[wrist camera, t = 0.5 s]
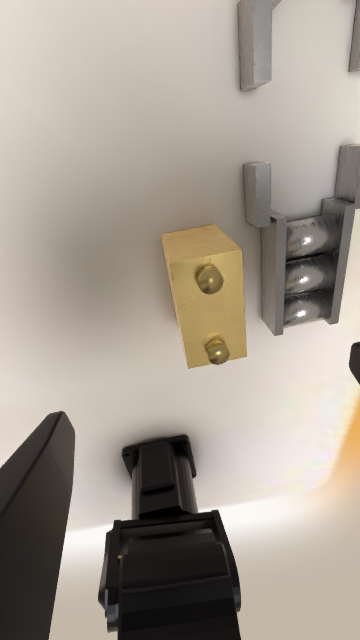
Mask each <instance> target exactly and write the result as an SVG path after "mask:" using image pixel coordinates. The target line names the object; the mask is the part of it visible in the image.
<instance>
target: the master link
mask: <svg viewBox="0 0 360 640" xmlns="http://www.w3.org/2000/svg"><path fill="white" fill-rule="evenodd" d="M161 238H162V244H163V249H164V254H165V260H166V265H167V270H168V276H169V281H170V286H171V291H172V297H173V302H174V307H175V313H176V318H177V323H178V327H179V331H180V336H181V340H182V344H183V348H184V353H185V357H186V361H187V365H188V369H189V368H194V367H199V366H204V365H209V364H216V365H219V364H223V363H224V362H226V361H228V360H233V359H238V358H242V357H247V352H246V330H245V307H244V285H243V263H242V249H241V248H240V247H239V246H238V245H237V244H236V243H235V242H234V241H232V240H231V239H230V238H229V237H228V236H227V235H226V234H225V233H224V232H223V231H222V230H221V229H220V228H219V227H218V226H217V225H216V224H212V225H207V226H202V227H197V228H191V229H186V230H181V231H176V232H171V233H165V234H161Z"/></svg>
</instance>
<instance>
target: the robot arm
mask: <svg viewBox="0 0 360 640" xmlns="http://www.w3.org/2000/svg"><path fill="white" fill-rule="evenodd" d="M349 367H350V370H351V372H352V374H353V375H354V377H355V378H356V380H357V381H358V383H359V384H360V342H356V343H354V344H353V345H352V346H351V353H350V360H349ZM74 450H75V431H74V428H73V426H72V424H71V422H70V421H69V419H68V417H67V415H66V413H65V412H63V411H59V412H54V413H51V414H49V415H48V416H47V417H46V418H45V419H44V420H43V421H42V422H41V423H40V424H39V426H38V427H37V428H36V429H35V430H34V431H33V432H32V433H31V435H30V436H29V437H28V438H27V439H26V440H25V441H24V442H23V443H22V445H21V446H20V447H19V448H18V449H17V450H16V451H15V452H14V453H13V455H12V456H11V457H10V458H9V459H8V460H7V461H6V462H5V464H4V465H3V466H2V467H1V468H0V640H48V639H49V633H50V626H51V620H52V613H53V608H54V601H55V595H56V589H57V582H58V576H59V569H60V563H61V557H62V551H63V544H64V538H65V532H66V526H67V519H68V513H69V507H70V500H71V494H72V486H73V470H74ZM122 457H123V460H124V462H125V464H126V467H127V469H128V472H129V474H130V476H131V479H132V520H125V521H121V520H114V525H113V529H112V530H110V531H109V532H107V533H106V543H105V554H104V563H103V569H102V575H101V580H100V586H99V593H98V601H99V603H100V604H101V605H102V607H103V608H104V609H105V617H106V618H107V630H108V632H115V631H118V640H241V637H240V632H239V625H238V619H237V612H239V611H240V608H241V592H240V583H239V576H238V571H237V567H236V563H235V559H234V556H233V553H232V550H231V547H230V544H229V541H228V538H227V535H226V532H225V529H224V526H223V523H222V520H221V517H220V514H219V511H218V510H212V511H211V512H202V513H198V509H197V503H196V497H195V491H194V486H193V480H192V478H194V477H196V470H195V465H194V460H193V456H192V451H191V447H190V442H189V438H188V437H187V436H180V437H175V438H170V439H166V440H161V441H156V442H152V443H147V444H142V445H138V446H133V447H128V448H125V449H123V450H122Z"/></svg>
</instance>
